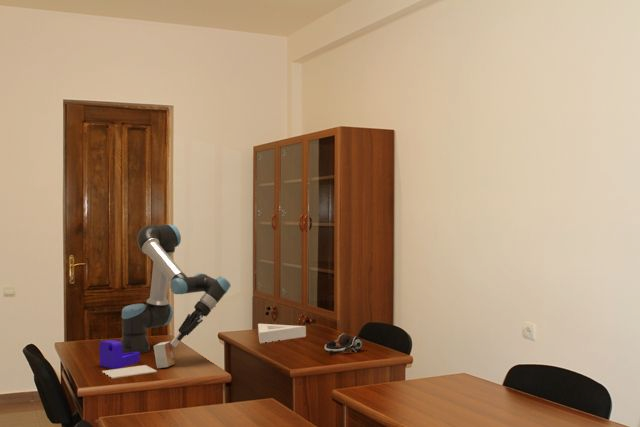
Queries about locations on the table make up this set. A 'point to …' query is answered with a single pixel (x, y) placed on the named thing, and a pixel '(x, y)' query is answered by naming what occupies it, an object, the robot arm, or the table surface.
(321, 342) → the table surface
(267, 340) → the triangular ruler
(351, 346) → the headset
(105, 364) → the bracket
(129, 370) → the mat
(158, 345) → the small box
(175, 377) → the table surface
